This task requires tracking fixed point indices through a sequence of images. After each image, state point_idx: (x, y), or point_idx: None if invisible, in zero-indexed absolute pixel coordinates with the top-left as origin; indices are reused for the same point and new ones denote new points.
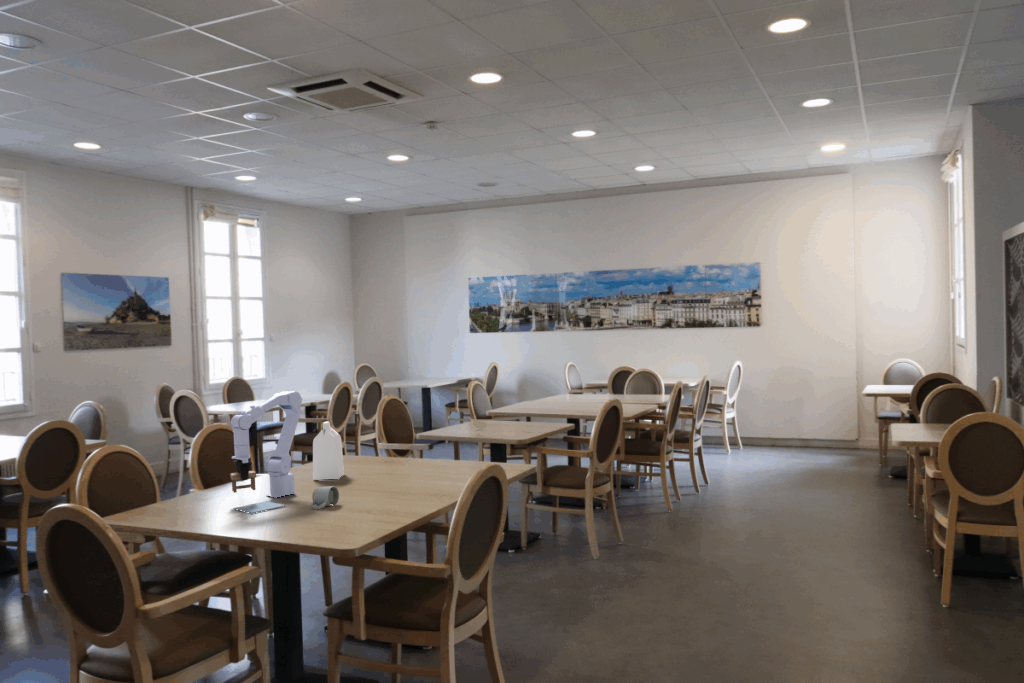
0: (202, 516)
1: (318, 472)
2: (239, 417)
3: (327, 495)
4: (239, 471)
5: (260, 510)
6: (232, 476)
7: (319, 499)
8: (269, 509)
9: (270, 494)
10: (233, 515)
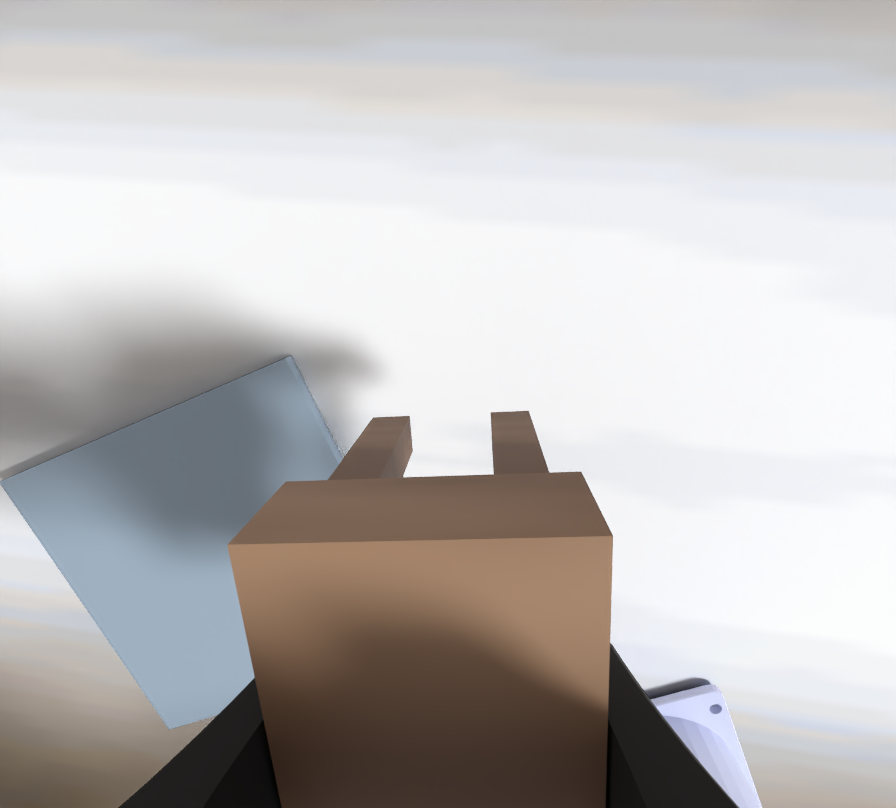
0: (116, 10)
1: None
2: None
3: None
4: (617, 781)
5: (58, 553)
6: (242, 533)
7: None
8: (98, 615)
9: (717, 722)
10: (32, 329)
